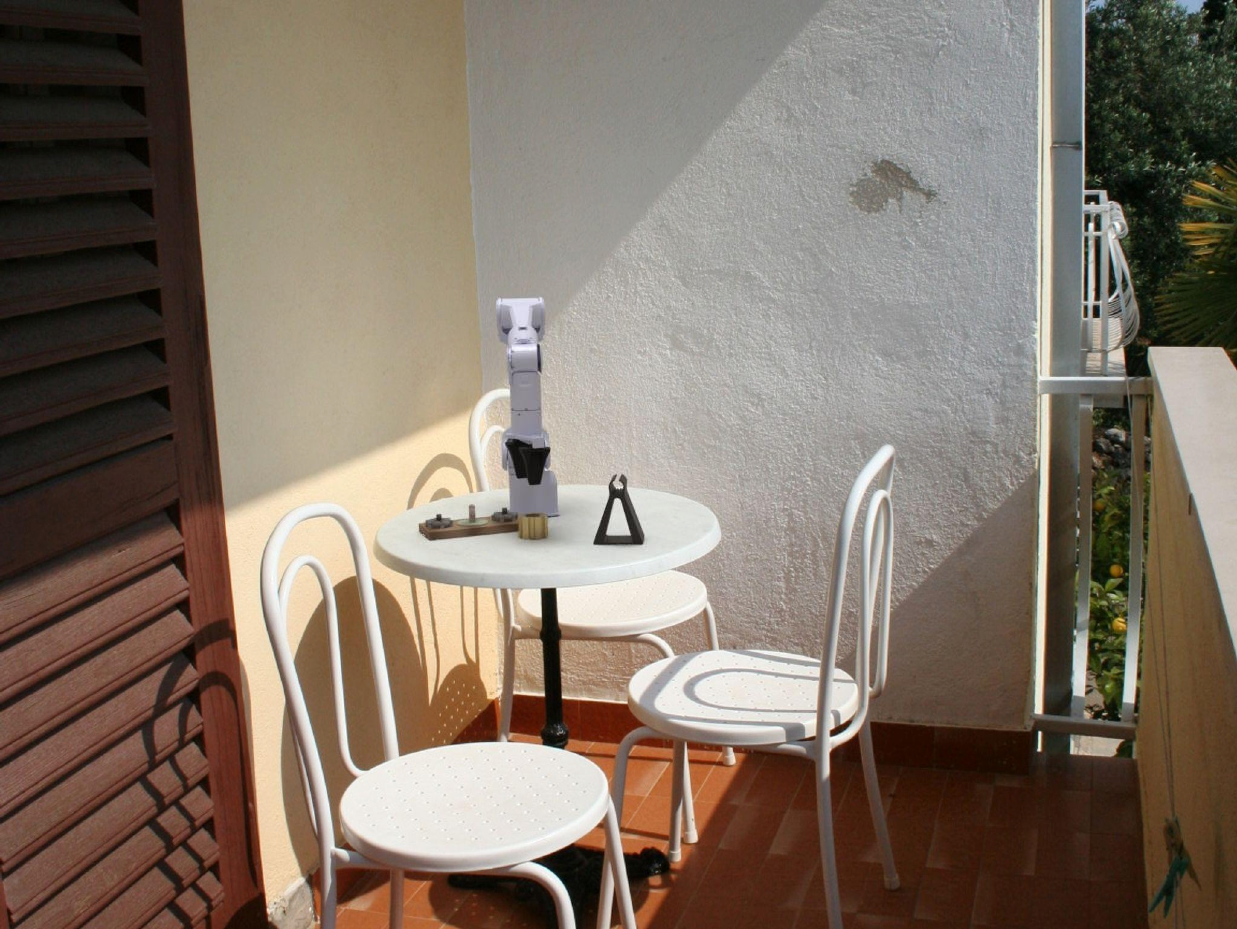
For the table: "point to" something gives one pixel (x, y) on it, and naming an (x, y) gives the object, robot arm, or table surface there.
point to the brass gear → (533, 525)
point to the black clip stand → (630, 515)
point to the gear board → (469, 525)
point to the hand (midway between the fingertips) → (528, 481)
